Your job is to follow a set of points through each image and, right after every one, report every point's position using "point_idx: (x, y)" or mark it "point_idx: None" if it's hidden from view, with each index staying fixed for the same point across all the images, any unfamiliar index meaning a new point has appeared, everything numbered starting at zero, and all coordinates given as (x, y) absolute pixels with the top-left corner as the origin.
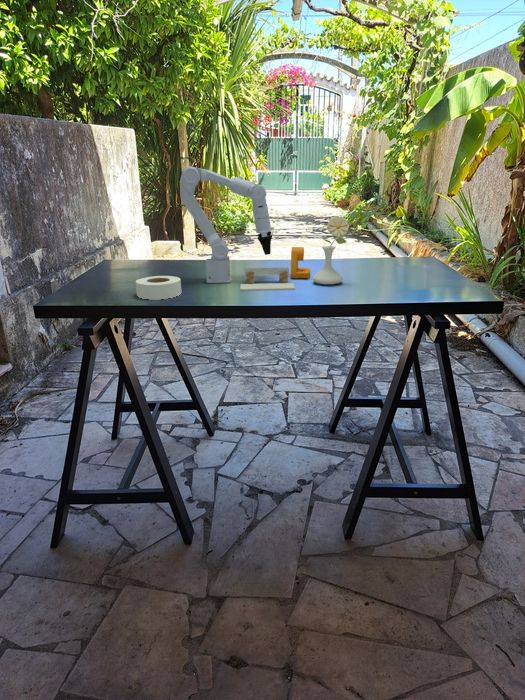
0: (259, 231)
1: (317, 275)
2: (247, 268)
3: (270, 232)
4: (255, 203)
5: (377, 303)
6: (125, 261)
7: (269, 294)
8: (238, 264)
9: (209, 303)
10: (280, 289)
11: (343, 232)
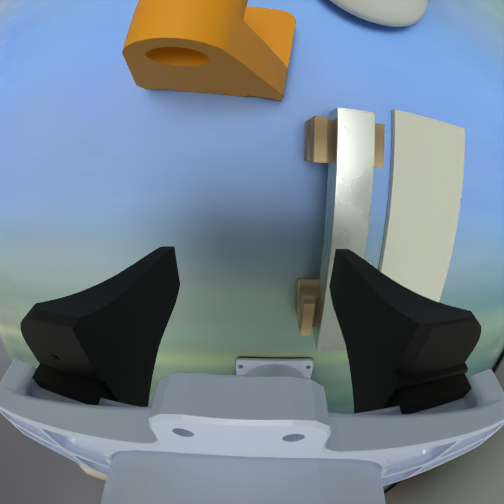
0: (395, 481)
1: (403, 8)
2: (325, 338)
3: (82, 335)
4: None
5: None
6: (88, 468)
7: (490, 229)
8: (23, 312)
9: (487, 361)
10: (460, 183)
11: None
